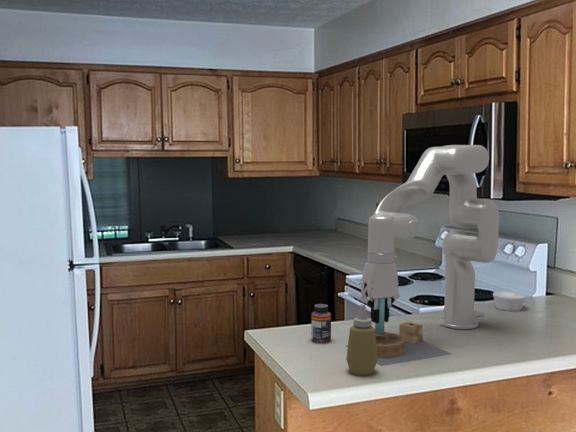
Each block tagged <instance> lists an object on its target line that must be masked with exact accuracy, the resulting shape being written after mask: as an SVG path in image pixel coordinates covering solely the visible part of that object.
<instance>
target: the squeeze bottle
mask: <svg viewBox="0 0 576 432" xmlns="http://www.w3.org/2000/svg"><path fill="white" fill-rule="evenodd" d="M367 313H368V312H367V308H366V304H360V305H359V310H358V315H357V316H356V317H354V318H353V325H352V326H350V328H349V334H348V341H347V345H348V347H347V349H346V350H347V351H346V357H345V360H346V364H347V366H348V369H349V371H350V373H351V374H353V375H355V376H371V375H373V374H374V371H375V369H376V365H377V348H376V336H375V327H374V326H373V325H372V323H373V322H372V319H371V317H368V314H367Z"/></svg>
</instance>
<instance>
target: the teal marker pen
mask: <svg viewBox="0 0 576 432" xmlns="http://www.w3.org/2000/svg"><path fill="white" fill-rule="evenodd" d="M377 309H378V310H379V323H377V324H376V323H374V325H375V326H374V329H375V334H378V335H383V334H384V332H385V298H381V299H378V308H377Z"/></svg>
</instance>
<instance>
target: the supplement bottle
mask: <svg viewBox="0 0 576 432" xmlns="http://www.w3.org/2000/svg"><path fill="white" fill-rule="evenodd" d="M310 320H311V325H310V326H311V328H310V329H311V332H310V334H311V342H313V343H314V344H320V345H321V344H323V345H324V344H329V343H331V341H332V313H331V312H329V305H328V304H324V303H317V304H314V310H313V311H312V312H311V319H310Z"/></svg>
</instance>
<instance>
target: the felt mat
mask: <svg viewBox="0 0 576 432" xmlns="http://www.w3.org/2000/svg"><path fill="white" fill-rule="evenodd" d="M345 347H346V348H348V344H347V345H345ZM449 355H452V353H451V352H449V351H447V350H444V349H443V348H440V347H438V346H436V345H434V344H431V343H429V342H426V341H424V340H422V341H419V342H417V343H414V344H412V343H408V342H405V353H404V354H402V355H400V356H398V357H392V358H377V363H376V365H379V366H381V367H384V366H389V365H396V364H401V363H408V362H412V361H420V360H424V359H430V358H431V359H432V358H437V357H443V356H449Z"/></svg>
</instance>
